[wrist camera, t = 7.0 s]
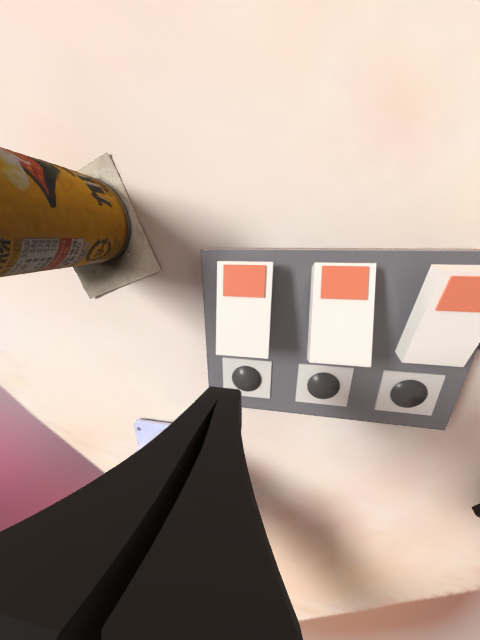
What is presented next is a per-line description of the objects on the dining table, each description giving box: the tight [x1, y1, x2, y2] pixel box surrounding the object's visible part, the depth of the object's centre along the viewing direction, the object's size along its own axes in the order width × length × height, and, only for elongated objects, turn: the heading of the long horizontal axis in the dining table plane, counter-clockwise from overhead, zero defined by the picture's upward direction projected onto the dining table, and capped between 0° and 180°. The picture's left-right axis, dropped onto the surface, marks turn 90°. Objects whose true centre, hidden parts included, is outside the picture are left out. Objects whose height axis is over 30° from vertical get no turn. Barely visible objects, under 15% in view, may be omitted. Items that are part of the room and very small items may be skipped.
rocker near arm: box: [216, 261, 273, 359], centre depth 14 cm, size 6×3×1 cm, turn 0°
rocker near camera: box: [395, 264, 480, 367], centre depth 12 cm, size 6×3×1 cm, turn 0°
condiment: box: [0, 147, 161, 299], centre depth 12 cm, size 7×8×12 cm
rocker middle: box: [307, 262, 376, 367], centre depth 13 cm, size 6×3×1 cm, turn 0°
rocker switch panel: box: [201, 248, 480, 430], centre depth 16 cm, size 12×26×3 cm, turn 90°
